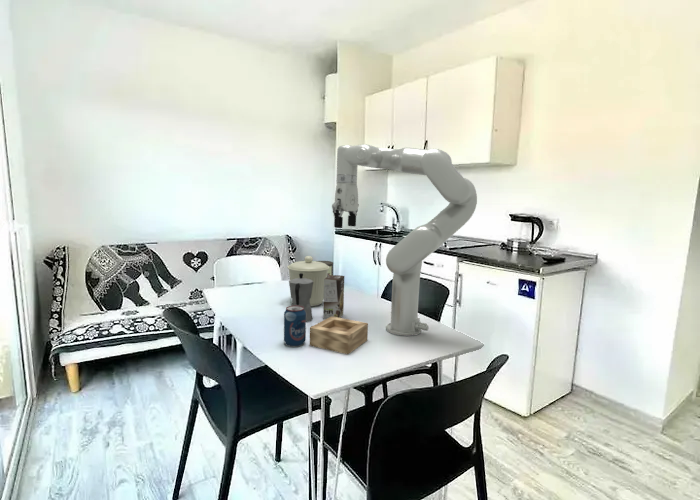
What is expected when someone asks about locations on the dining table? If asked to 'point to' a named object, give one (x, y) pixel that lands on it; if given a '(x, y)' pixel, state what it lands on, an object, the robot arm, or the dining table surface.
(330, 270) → the coffee can
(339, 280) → the coffee box
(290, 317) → the soda can
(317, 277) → the canister
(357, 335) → the square wooden tray
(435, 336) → the dining table surface
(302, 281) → the coffeepot
